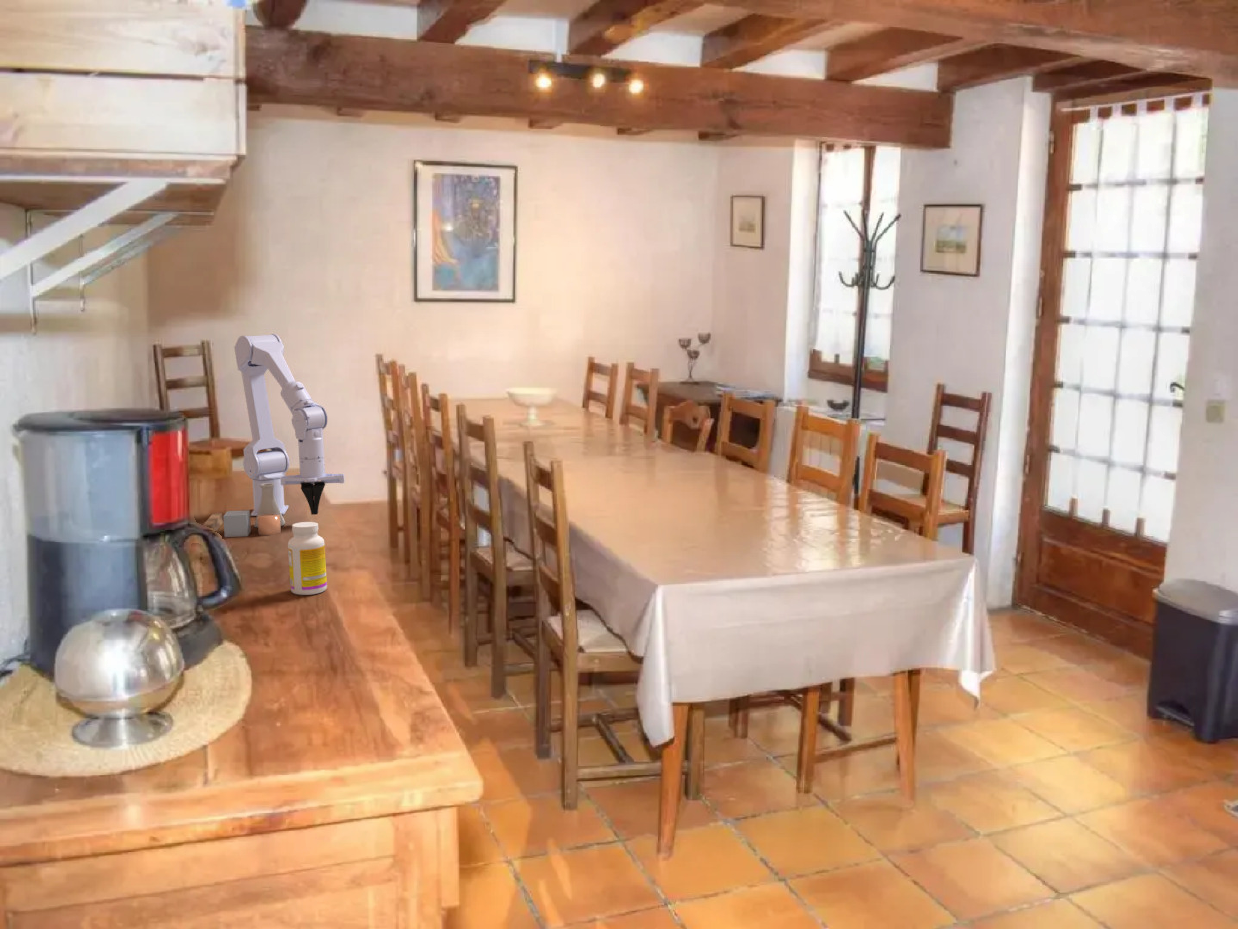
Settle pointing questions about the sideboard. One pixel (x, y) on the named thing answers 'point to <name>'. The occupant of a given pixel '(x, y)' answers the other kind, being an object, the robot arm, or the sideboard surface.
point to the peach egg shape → (269, 524)
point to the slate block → (237, 523)
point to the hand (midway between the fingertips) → (314, 513)
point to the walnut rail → (214, 521)
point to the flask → (268, 503)
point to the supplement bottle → (307, 560)
